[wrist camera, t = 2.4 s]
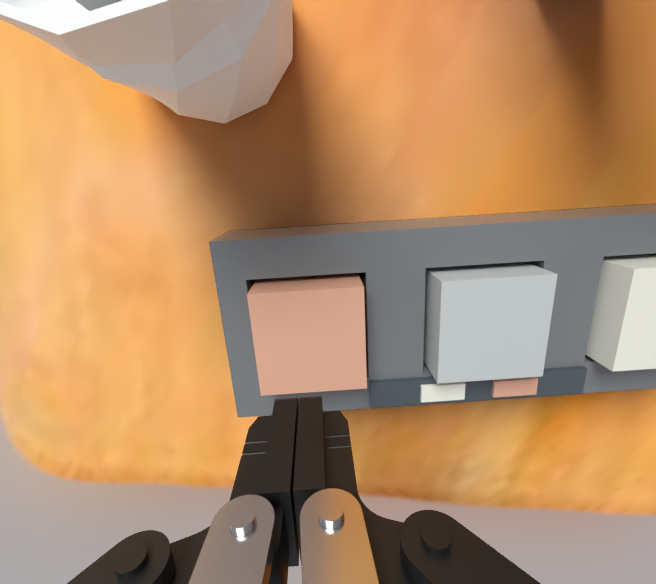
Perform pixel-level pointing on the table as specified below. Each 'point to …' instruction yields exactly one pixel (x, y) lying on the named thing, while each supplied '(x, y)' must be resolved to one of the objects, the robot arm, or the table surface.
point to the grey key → (487, 321)
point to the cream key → (625, 314)
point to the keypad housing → (409, 296)
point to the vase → (172, 47)
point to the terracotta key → (309, 333)
